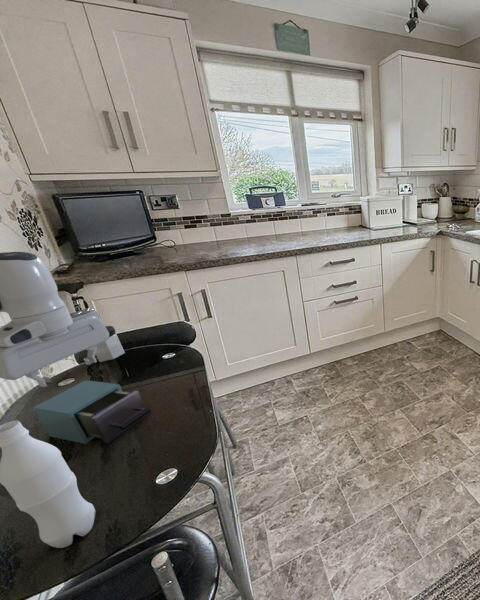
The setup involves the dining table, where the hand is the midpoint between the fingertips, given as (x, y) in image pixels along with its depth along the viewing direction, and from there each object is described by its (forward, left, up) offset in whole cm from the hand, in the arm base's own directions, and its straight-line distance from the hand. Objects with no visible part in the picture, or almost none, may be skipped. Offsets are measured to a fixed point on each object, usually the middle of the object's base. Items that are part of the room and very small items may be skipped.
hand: (70, 373), depth 79 cm
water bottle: (+25, -21, -19) cm, 37 cm away
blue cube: (+3, +2, -17) cm, 17 cm away
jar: (-44, +32, -19) cm, 58 cm away
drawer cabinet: (-7, +2, -19) cm, 20 cm away
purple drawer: (+3, +2, -18) cm, 18 cm away
